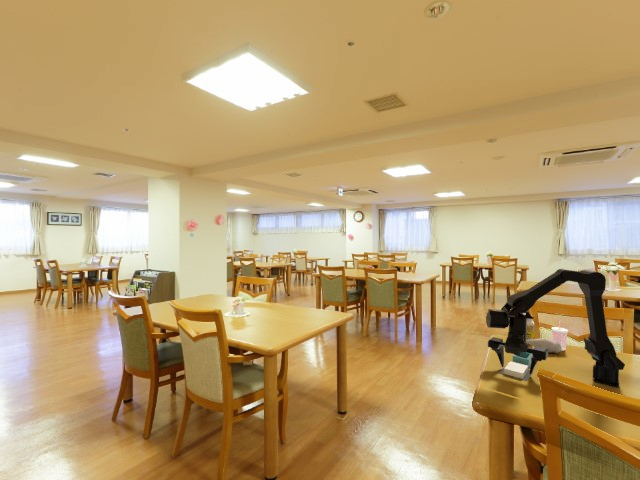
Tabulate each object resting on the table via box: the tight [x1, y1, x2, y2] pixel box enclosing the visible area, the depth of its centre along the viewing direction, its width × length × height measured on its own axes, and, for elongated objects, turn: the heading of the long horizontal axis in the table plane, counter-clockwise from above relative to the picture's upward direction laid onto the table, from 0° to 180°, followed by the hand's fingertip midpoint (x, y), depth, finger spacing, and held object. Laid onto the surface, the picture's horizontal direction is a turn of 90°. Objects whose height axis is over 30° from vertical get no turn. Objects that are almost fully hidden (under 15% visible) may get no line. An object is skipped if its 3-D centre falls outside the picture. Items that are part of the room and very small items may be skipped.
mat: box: [498, 364, 534, 382], centre depth 122 cm, size 9×11×1 cm
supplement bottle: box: [526, 314, 536, 345], centre depth 157 cm, size 7×7×13 cm
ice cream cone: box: [526, 337, 562, 354], centre depth 144 cm, size 6×6×15 cm
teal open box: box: [512, 352, 533, 370], centre depth 130 cm, size 5×8×4 cm, turn 137°
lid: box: [503, 361, 529, 379], centre depth 122 cm, size 6×9×2 cm, turn 137°
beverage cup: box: [551, 317, 569, 351], centre depth 148 cm, size 6×6×14 cm
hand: (516, 370), depth 122 cm, fingers open, 9 cm apart
